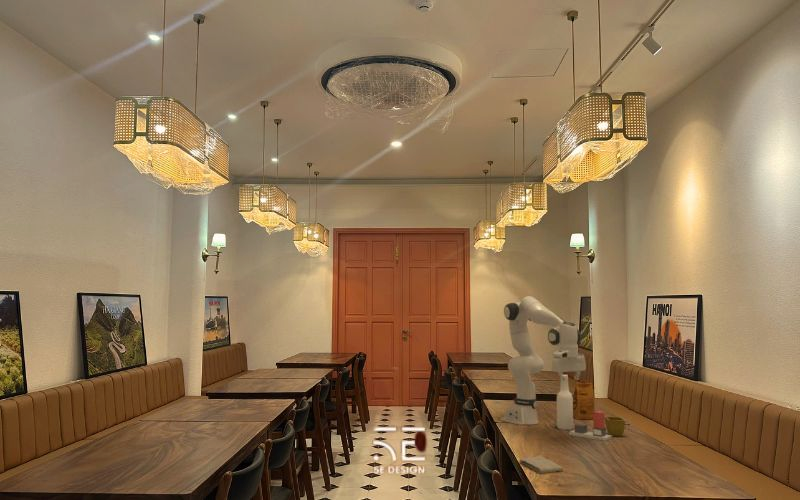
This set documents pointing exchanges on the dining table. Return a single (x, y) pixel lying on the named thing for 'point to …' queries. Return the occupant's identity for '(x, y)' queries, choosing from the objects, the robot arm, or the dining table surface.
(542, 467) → the washcloth
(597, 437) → the grey cubes on base
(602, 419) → the tall red square pillar
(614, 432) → the flower pot
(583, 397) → the coffee package
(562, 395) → the alcohol
